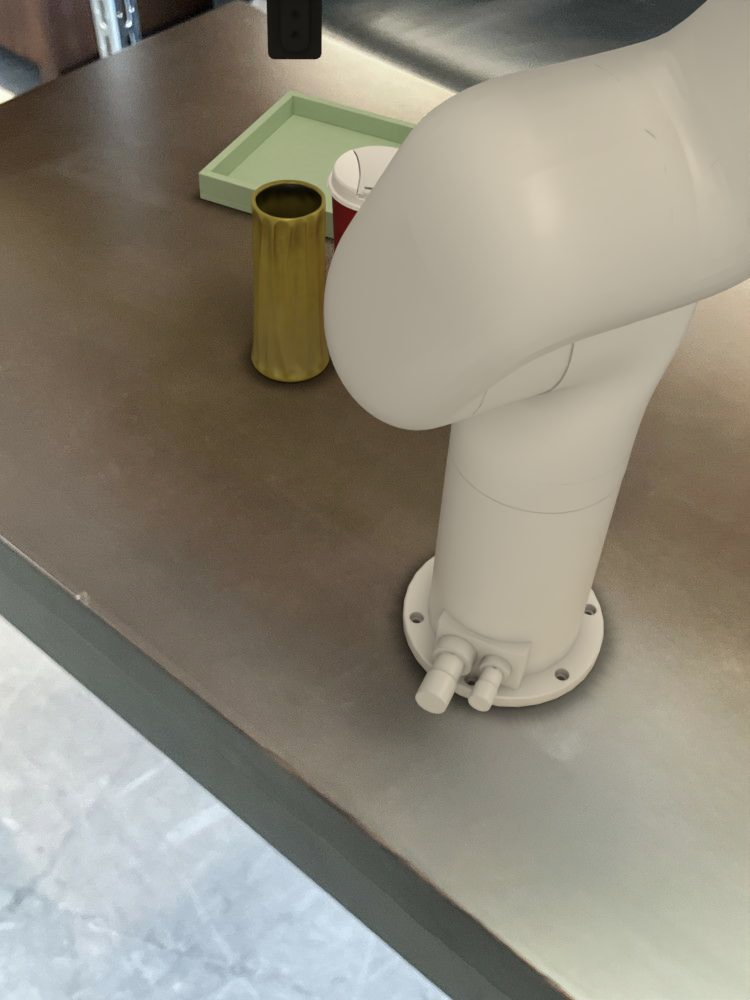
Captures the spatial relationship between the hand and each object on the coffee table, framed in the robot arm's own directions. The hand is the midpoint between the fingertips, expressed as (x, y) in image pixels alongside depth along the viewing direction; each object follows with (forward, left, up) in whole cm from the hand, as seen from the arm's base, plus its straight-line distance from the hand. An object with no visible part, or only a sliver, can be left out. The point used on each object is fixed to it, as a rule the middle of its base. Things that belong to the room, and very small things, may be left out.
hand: (292, 21), depth 72 cm
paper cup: (+5, -4, -19) cm, 20 cm away
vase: (-2, 0, -26) cm, 26 cm away
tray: (+23, +10, -26) cm, 36 cm away
